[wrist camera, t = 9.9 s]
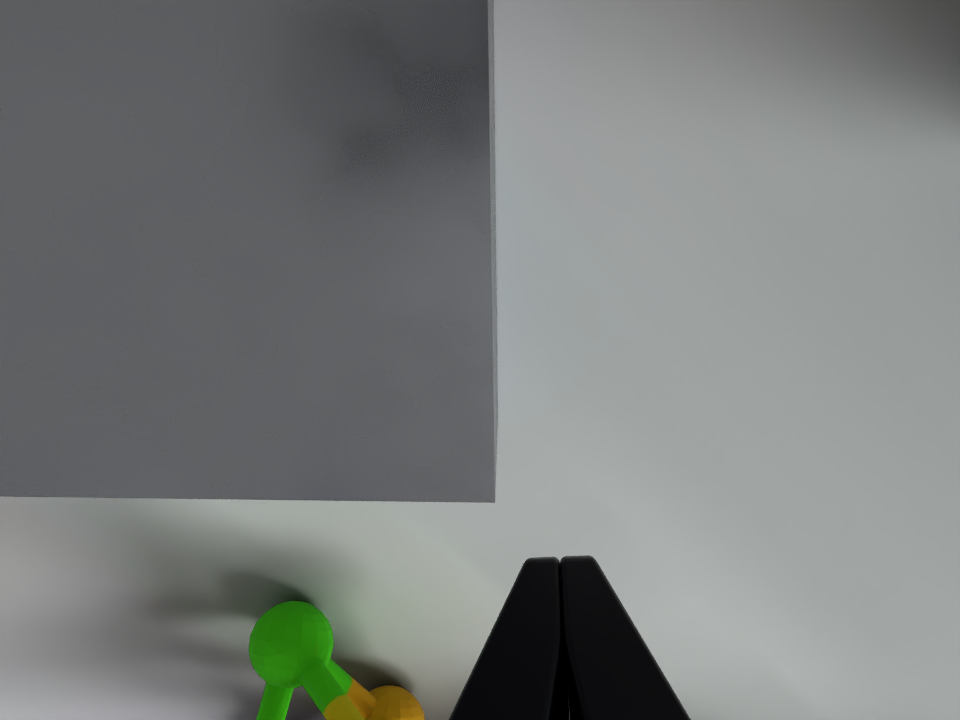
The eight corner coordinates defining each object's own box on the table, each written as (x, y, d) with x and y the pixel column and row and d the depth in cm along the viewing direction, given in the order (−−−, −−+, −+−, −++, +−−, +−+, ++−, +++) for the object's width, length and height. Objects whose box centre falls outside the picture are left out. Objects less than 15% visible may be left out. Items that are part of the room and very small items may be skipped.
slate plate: (487, -543, 13) (478, -655, 10) (497, 421, 24) (494, 502, 21) (-650, -490, 14) (-960, -578, 11) (-139, 416, 25) (-226, 493, 22)
